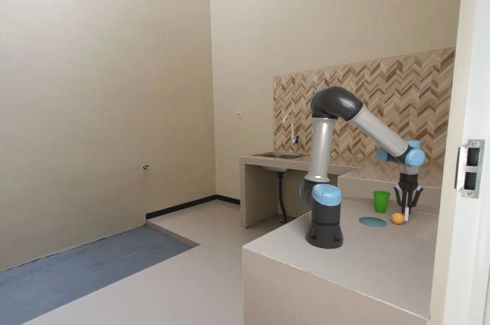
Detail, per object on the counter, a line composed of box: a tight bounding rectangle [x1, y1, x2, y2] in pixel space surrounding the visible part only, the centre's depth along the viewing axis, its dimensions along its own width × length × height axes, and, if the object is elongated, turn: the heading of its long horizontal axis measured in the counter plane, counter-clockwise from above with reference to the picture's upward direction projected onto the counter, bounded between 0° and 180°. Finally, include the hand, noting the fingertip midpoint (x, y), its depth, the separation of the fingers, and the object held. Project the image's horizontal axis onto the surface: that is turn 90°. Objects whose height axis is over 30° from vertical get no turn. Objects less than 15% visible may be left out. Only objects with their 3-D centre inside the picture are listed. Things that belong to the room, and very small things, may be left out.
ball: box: [390, 212, 405, 225], centre depth 135 cm, size 6×6×6 cm
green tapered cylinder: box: [372, 190, 392, 214], centre depth 152 cm, size 9×9×11 cm
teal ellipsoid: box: [358, 216, 388, 228], centre depth 138 cm, size 13×13×1 cm
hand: (405, 219), depth 134 cm, fingers closed
